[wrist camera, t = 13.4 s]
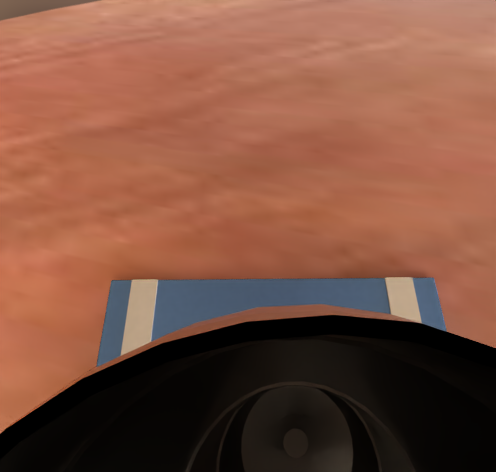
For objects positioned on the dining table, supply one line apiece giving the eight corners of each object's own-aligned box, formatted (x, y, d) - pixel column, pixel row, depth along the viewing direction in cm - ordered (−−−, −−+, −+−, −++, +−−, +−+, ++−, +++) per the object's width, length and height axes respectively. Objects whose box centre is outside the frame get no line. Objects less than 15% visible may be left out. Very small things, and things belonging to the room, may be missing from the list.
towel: (62, 589, 16) (53, 599, 15) (114, 282, 22) (110, 279, 21) (504, 600, 15) (515, 611, 14) (429, 279, 21) (435, 277, 20)
